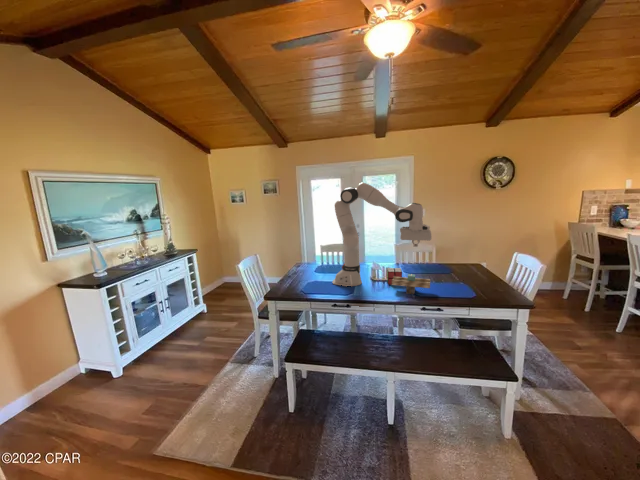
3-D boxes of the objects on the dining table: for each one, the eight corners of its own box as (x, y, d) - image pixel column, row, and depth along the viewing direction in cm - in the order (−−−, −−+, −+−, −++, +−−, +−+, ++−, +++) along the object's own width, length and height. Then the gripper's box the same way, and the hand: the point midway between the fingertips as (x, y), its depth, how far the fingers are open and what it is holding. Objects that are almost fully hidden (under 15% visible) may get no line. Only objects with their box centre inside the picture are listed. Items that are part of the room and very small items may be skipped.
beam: (391, 292, 185) (391, 280, 183) (393, 287, 193) (393, 276, 191) (429, 296, 175) (429, 283, 174) (430, 291, 184) (430, 278, 182)
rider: (407, 283, 182) (407, 275, 181) (408, 281, 186) (408, 273, 185) (414, 283, 180) (414, 276, 179) (415, 281, 184) (415, 274, 183)
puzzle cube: (402, 285, 198) (402, 271, 196) (387, 284, 200) (387, 271, 198) (400, 280, 208) (400, 268, 206) (387, 280, 210) (387, 267, 208)
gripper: (399, 227, 187) (399, 246, 190) (431, 227, 179) (431, 247, 182) (400, 226, 193) (400, 245, 195) (431, 226, 185) (431, 246, 187)
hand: (415, 246), depth 188 cm, fingers closed
